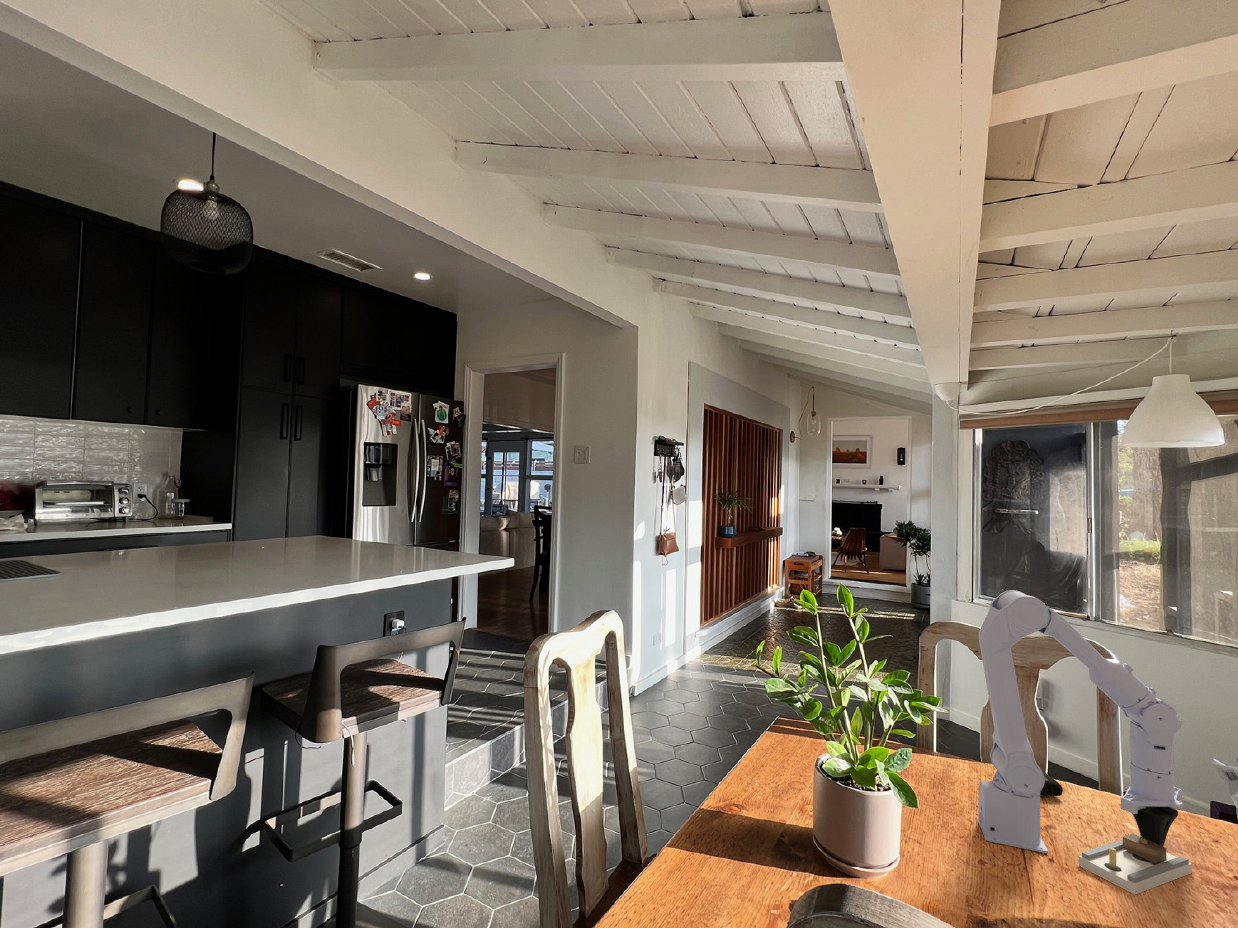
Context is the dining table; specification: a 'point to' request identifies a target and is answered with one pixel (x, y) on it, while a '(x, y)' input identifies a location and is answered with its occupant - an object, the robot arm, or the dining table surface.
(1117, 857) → the plate
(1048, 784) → the tape measure
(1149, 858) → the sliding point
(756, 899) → the dining table surface
